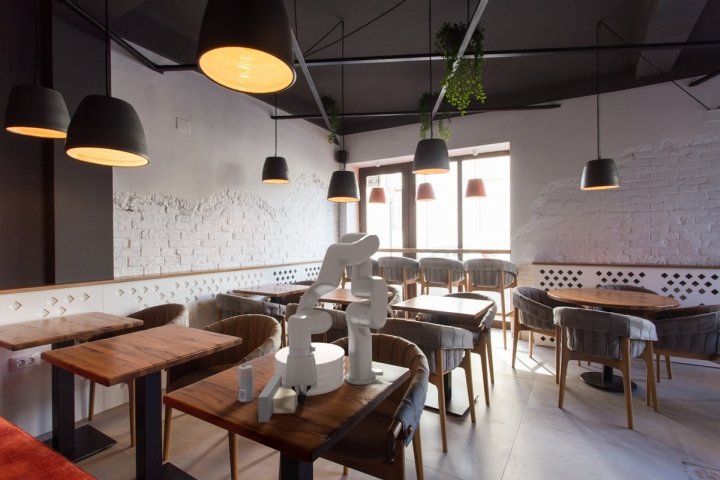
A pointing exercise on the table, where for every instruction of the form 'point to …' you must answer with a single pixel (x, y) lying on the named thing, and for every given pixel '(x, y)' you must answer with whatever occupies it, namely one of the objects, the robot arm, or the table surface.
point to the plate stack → (318, 367)
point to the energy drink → (245, 383)
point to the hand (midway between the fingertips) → (302, 404)
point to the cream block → (284, 401)
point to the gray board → (268, 398)
